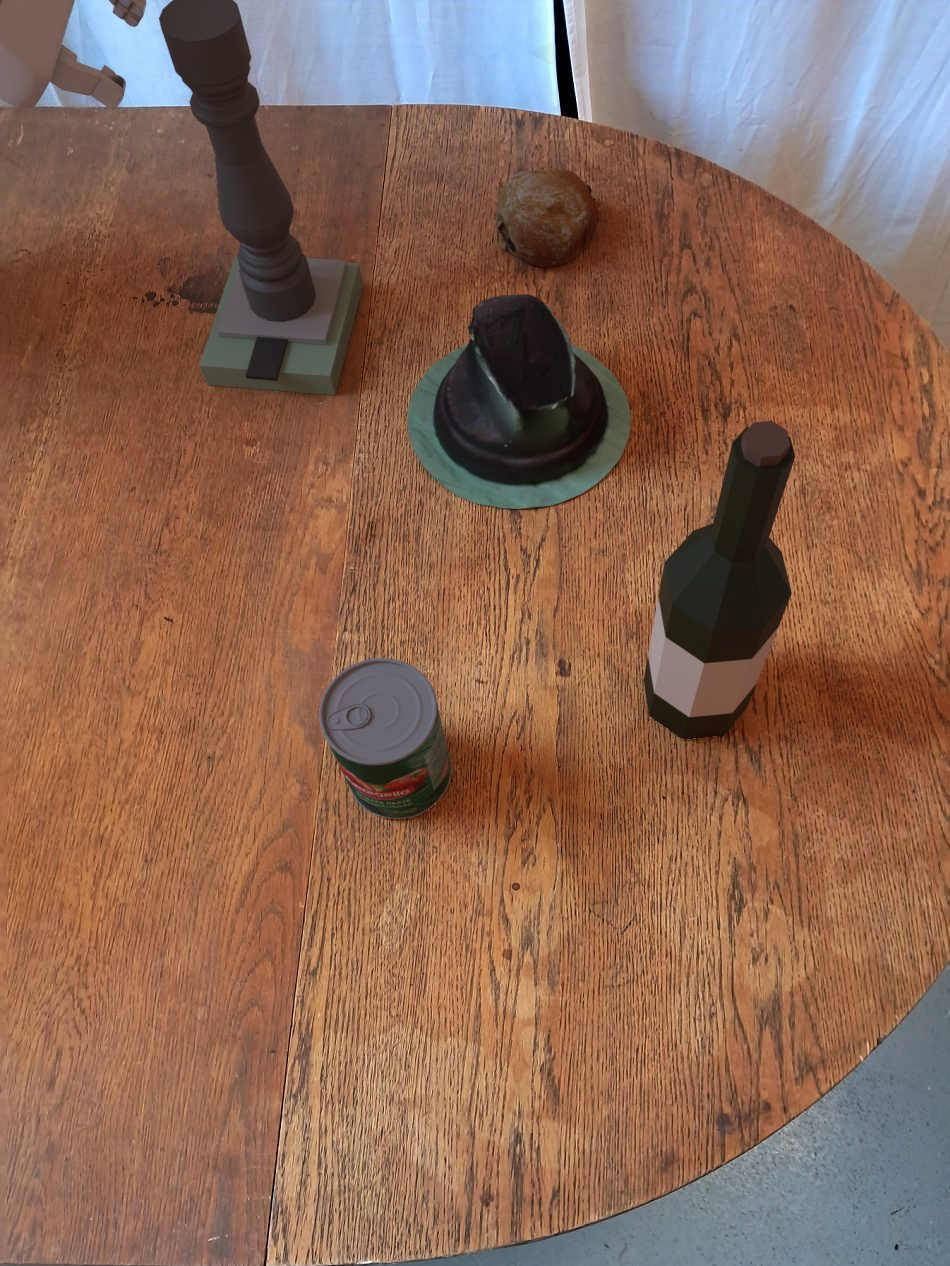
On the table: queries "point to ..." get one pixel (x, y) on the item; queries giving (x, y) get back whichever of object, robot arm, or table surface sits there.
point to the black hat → (518, 411)
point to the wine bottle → (722, 596)
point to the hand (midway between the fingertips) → (132, 55)
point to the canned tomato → (387, 737)
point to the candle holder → (239, 154)
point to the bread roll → (546, 216)
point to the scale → (285, 336)
